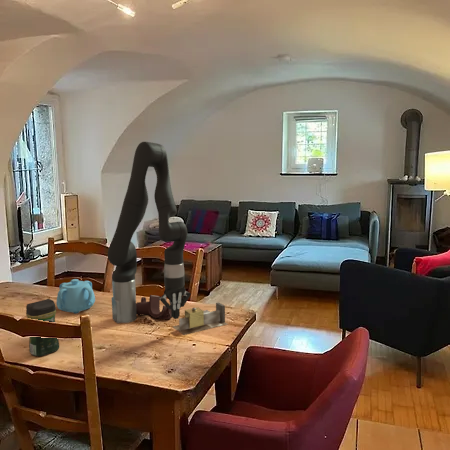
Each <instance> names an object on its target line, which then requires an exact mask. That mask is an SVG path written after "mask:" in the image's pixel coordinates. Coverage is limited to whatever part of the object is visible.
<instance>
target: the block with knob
mask: <svg viewBox="0 0 450 450" xmlns="http://www.w3.org/2000/svg"><path fill="white" fill-rule="evenodd" d="M184 317H187V318H188V319H189V328H193V327H198V326H202V325H204V310H203V309H202V308H201V307H192V308H188V309H185V310H184Z"/></svg>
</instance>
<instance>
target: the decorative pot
mask: <svg viewBox="0 0 450 450" xmlns="http://www.w3.org/2000/svg"><path fill="white" fill-rule="evenodd" d="M95 303H96V296H95V292H94V290H93V283H92V281H89V280H84V281H83V280H79V279H78V278H74V279H71V280H70V281H69V282H62V283H60V284H59V290H58V292H57V296H56V303H55V305H56V308H57V309H58V310H60V311H63V312H67V313H73V314H80V312H81V311H85V310H89V309H91V307H93V305H94V304H95Z"/></svg>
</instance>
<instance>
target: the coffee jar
mask: <svg viewBox="0 0 450 450" xmlns="http://www.w3.org/2000/svg"><path fill="white" fill-rule="evenodd" d="M25 308H26V309H25V311H26V312H25V314H26V318H27V319H28V318H31V319H38V320H43V321H49V322H55V323H56V314H57V306H56V303H55V301H54V300H52V299H50V298H47V299H43V300H42V299H41V300H39V301H35V302H30V303H27V304H26V307H25ZM28 337H29V336H28ZM28 339H29V340H28V341H29V342H28V346H29V349H28V352H29V353H30V355H32V356H33V357H42V356H47V355H49V354H52V353H54V352H57V351H58V350H59V349H60V342H59V338H58V339H57V338H41V337H29V338H28Z"/></svg>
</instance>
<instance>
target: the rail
mask: <svg viewBox="0 0 450 450" xmlns="http://www.w3.org/2000/svg"><path fill="white" fill-rule="evenodd" d="M178 320H179V321H178V322H179V323H178V325H173V326H172V328H173V329H174V330H176V331H177V332H178V333H180V334H182V335H183V336H187V335H191V334H194V333H198V332H199V333H200V332H203V331H206V330H207V331H208V330H211V329H215V328H218V327H219V328H220V327H223V326H227V325H229V324H228V323H227V322H226V306H225V305H224V304H222V303H220V302H218V301H217V302H216V303H215V310H212V311H210V312H207V313H204V325H202V326H198V327H193V328H189V319H188V318H187V317H185V316H184V317H180V318H178Z"/></svg>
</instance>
